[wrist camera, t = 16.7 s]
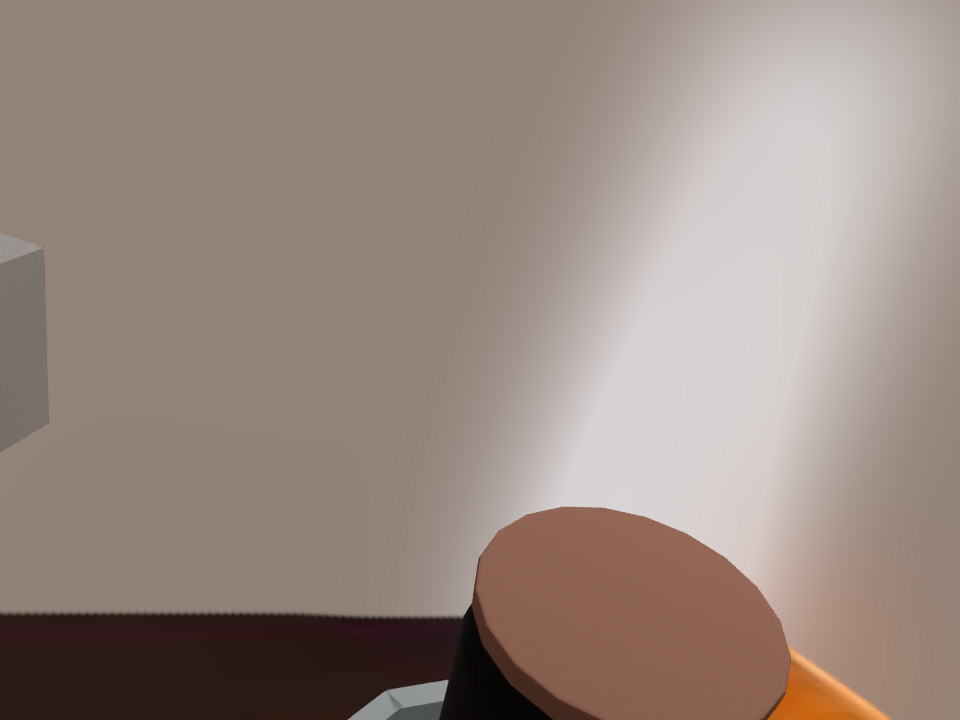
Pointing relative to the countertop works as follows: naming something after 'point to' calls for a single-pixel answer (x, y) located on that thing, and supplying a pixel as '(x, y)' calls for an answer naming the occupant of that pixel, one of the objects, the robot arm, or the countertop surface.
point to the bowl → (406, 703)
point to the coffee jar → (613, 627)
